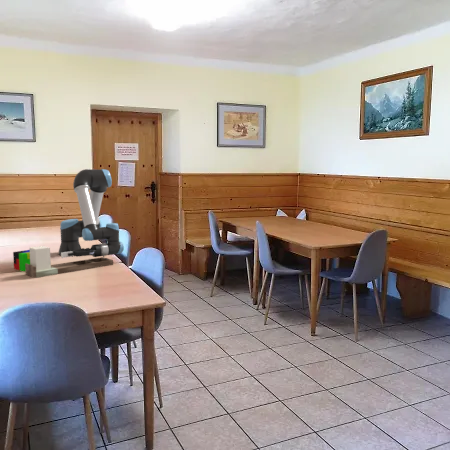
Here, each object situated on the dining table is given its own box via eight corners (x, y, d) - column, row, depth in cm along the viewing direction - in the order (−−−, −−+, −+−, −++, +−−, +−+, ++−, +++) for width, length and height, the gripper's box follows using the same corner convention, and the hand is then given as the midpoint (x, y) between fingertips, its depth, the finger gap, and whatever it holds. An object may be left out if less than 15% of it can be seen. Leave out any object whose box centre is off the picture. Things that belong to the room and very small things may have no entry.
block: (30, 268, 254) (29, 247, 252) (44, 266, 259) (43, 245, 258) (36, 271, 248) (35, 249, 247) (50, 269, 254) (49, 247, 252)
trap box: (25, 274, 254) (25, 263, 253) (103, 261, 288) (102, 252, 287) (34, 278, 246) (34, 267, 245) (113, 264, 279) (112, 255, 278)
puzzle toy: (30, 266, 275) (29, 249, 274) (39, 268, 269) (38, 251, 267) (14, 268, 267) (13, 252, 266) (22, 271, 261) (21, 254, 260)
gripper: (104, 257, 273) (66, 263, 257) (94, 254, 283) (57, 259, 267) (104, 245, 273) (66, 250, 256) (93, 242, 282) (56, 247, 266)
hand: (61, 255), depth 262 cm, fingers closed
